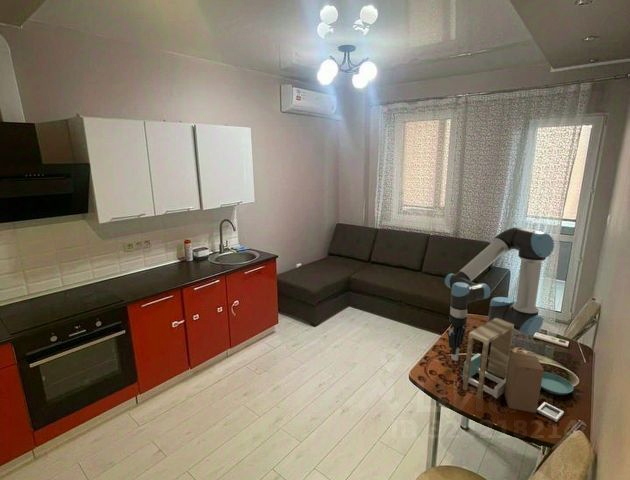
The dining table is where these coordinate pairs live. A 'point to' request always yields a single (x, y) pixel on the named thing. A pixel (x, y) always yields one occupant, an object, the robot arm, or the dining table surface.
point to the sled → (476, 369)
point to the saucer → (555, 384)
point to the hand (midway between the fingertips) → (454, 359)
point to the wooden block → (523, 382)
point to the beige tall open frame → (499, 352)
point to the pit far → (550, 411)
